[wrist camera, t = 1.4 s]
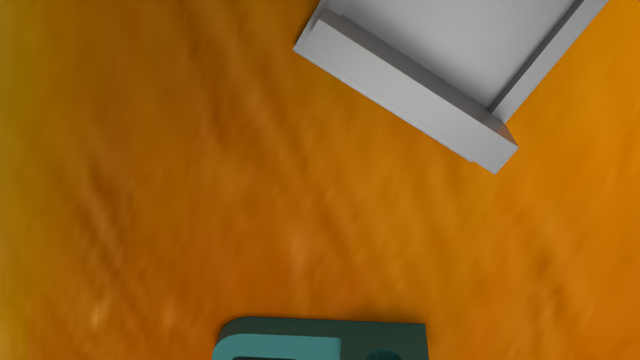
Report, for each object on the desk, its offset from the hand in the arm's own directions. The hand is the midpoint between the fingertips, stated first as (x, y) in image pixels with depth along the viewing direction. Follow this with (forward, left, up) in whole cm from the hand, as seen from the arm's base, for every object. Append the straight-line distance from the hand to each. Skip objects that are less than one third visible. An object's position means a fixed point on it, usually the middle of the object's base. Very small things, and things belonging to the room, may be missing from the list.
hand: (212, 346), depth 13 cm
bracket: (+12, -21, -25) cm, 35 cm away
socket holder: (+5, +9, -24) cm, 26 cm away
